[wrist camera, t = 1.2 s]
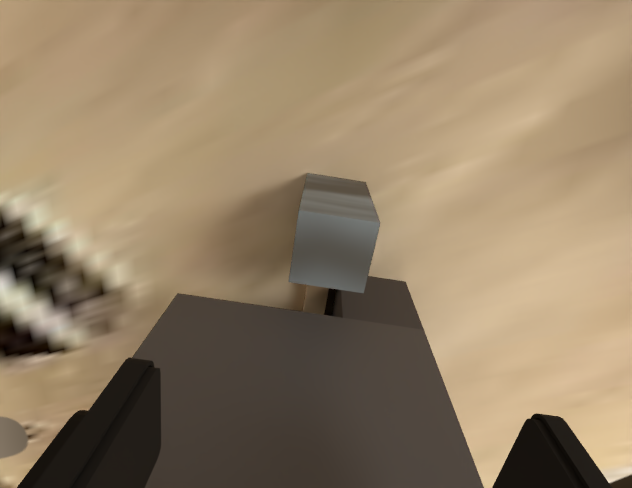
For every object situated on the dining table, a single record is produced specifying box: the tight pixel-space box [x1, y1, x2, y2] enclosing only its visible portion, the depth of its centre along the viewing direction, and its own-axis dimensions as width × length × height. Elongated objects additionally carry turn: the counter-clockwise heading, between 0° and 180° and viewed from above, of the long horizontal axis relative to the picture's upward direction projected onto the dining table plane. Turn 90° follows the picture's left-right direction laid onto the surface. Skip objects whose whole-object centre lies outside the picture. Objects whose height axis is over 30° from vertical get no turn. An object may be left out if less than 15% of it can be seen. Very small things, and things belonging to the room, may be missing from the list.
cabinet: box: [132, 276, 484, 488], centre depth 23 cm, size 19×16×19 cm
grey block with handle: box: [289, 173, 380, 315], centre depth 27 cm, size 23×4×8 cm, turn 171°
